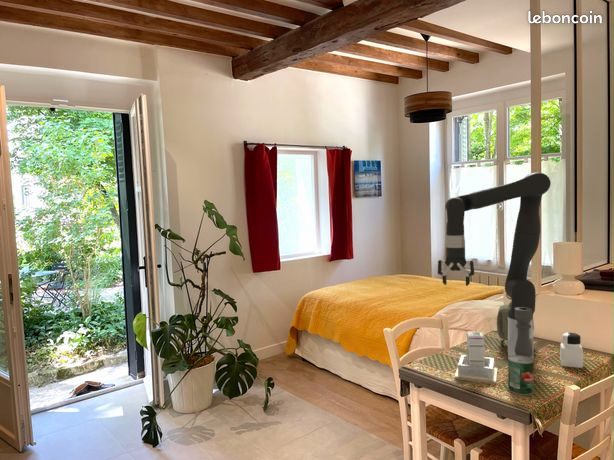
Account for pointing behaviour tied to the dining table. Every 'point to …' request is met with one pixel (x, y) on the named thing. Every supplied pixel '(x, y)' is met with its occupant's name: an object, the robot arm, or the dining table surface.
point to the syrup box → (475, 349)
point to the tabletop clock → (504, 321)
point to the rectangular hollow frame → (476, 371)
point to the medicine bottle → (571, 351)
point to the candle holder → (523, 331)
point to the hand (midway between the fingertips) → (456, 285)
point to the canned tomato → (520, 375)
